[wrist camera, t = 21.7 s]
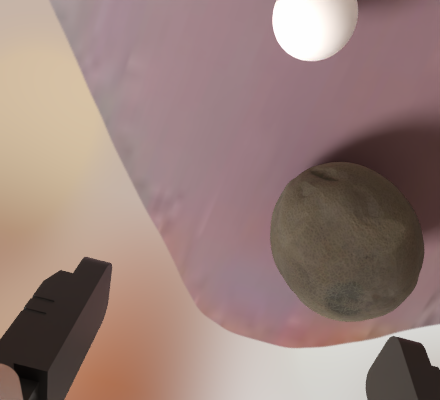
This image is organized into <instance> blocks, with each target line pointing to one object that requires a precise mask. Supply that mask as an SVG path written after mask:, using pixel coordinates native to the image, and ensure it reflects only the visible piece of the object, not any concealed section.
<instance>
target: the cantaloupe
mask: <svg viewBox="0 0 440 400" xmlns="http://www.w3.org/2000/svg"><path fill="white" fill-rule="evenodd" d="M270 239H271V250H272V254H273V258H274V261H275V264H276V266H277V268H278V270H279V272H280V273H281V275H282V276H283V278H284V280H285V281H286V283H287V285H288V286H289V287H290V289H291V290H292V291H293V292H294V293H295V294H296V295H297V297H298V298H299V299H300V301H301V302H302V303H303V304H304V305H306V306H307V307H308V308H310V309H311V310H312V311H314V312H316V313H318V314H320V315H321V316H324V317H326V318H329V319H333V320H337V321H345V322H356V321H363V320H368V319H373V318H376V317H379V316H382V315H385V314H387V313H389V312H391V311H393V310H394V309H396V308H397V307H398V306H399V305H400V304H401V303H402V302H403V301H404V300H405V299H406V298H407V297H408V296H409V295H410V294H411V292H412V291H413V290H414V288H415V286H416V284H417V281H418V277H419V273H420V270H421V268H422V264H423V258H424V242H423V236H422V231H421V227H420V223H419V220H418V218H417V216H416V214H415V212H414V210H413V208H412V206H411V205H410V203H409V202H408V201H407V199H406V198H405V197H404V196H403V194H402V193H401V192H400V191H399V190H398V189H397V187H396V186H394V185H393V184H392V183H391V182H390V181H389V180H387V179H386V178H385V177H383V176H382V175H380V174H378V173H377V172H375V171H373V170H371V169H369V168H367V167H365V166H362V165H358V164H354V163H349V162H331V163H325V164H321V165H317V166H314V167H311V168H309V169H307V170H306V171H304V172H302V173H301V174H300V175H298V176H297V177H296V178H294V179H293V180H291V181H290V182H289V183H288V184H287V186H286V187H285V189H284V191H283V192H282V194H281V196H280V197H279V199H278V201H277V203H276V205H275V208H274V211H273V215H272V220H271V231H270Z"/></svg>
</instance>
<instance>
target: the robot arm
mask: <svg viewBox="0 0 440 400" xmlns="http://www.w3.org/2000/svg"><path fill="white" fill-rule="evenodd" d="M111 272H112V264H111V263H108V262H104V261H100V260H96V259H93V258H88V257H84V258H83V259H82V261H81V262H80V264H79V265H78V267H77V268H76V270H75V271H74V273H70V272H66V271H62V270H60V271H58V272H57V273H55V274H54V275H52V276H51V277H49V278H48V279H46V280H44V281H43V283H42V284H41V285H40V287H39V288H38V289H37V291H36V292H35V293H34V295H33V298H32V299H30V300H29V301H28V303H27V304H26V305H25V307H24V310H23V311H21V312H20V314H19V315H18V316H17V318H16V319H15V320H14V322H13V323H12V324H11V326H10V327H9V329H8V330H7V331H6V333H5V334H4V335H3V337H2V338H1V339H0V400H64V399H65V397H66V395H67V393H68V391H69V389H70V387H71V385H72V383H73V380H74V379H75V377H76V375H77V372H78V371H79V368H80V366H81V364H82V362H83V360H84V358H85V356H86V354H87V352H88V350H89V348H90V346H91V344H92V342H93V340H94V338H95V336H96V334H97V332H98V329H99V328H100V326H101V324H102V321H103V319H104V316H105V313H106V309H107V305H108V299H109V289H110V281H111ZM366 394H367V398H368V400H440V370H439V368H438V367H435V366H431V363H430V361H429V358H428V356H427V353H426V350H425V348H424V346H423V345H422V344H421V343H419V342H414V341H410V340H407V339H403V338H399V337H395V336H393V337H390V338H389V340H388V341H387V342H386V344H385V346H384V347H383V349H382V350H381V352H380V353H379V355H378V357H377V358H376V360H375V361H374V363H373V365H372V366H371V368H370V369H369V372H368V374H367V379H366Z"/></svg>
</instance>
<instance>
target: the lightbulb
mask: <svg viewBox="0 0 440 400" xmlns="http://www.w3.org/2000/svg"><path fill="white" fill-rule="evenodd" d="M357 20H358V3H357V0H276V3H275V6H274V11H273V29H274V34H275V36H276V39H277V41H278V42H279V44H280V45H281V47H282V48H283V49H284V50H285V51H286V52H287V53H288V54H290V55H291V56H293V57H295V58H297V59H300V60H305V61H319V60H323V59H326V58H328V57H331V56H333V55H334V54H336V53H337V52H339V51H340V50H341V49H342V48H343V47H344V46H345V45H346V44H347V42H348V41H349V40H350V38H351V36H352V34H353V32H354V30H355V27H356V24H357Z"/></svg>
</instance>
